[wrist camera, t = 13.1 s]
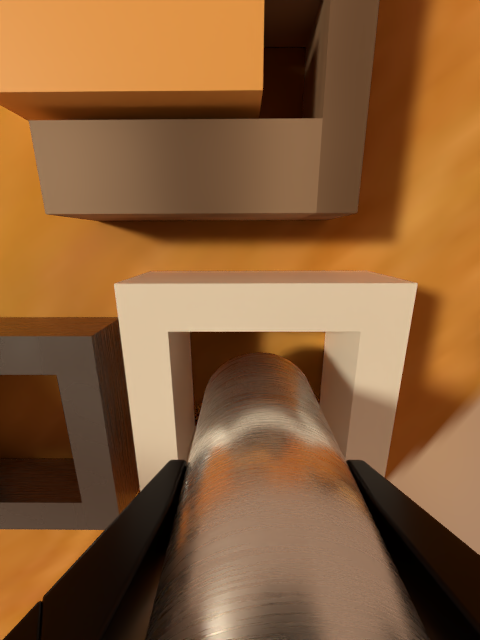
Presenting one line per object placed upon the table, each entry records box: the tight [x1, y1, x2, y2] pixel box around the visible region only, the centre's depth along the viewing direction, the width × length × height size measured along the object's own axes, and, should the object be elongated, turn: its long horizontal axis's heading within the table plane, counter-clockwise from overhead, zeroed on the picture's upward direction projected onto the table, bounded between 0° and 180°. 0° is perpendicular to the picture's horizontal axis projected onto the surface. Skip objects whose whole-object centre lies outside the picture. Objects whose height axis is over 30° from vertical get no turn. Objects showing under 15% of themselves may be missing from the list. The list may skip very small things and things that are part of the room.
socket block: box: [0, 317, 140, 530], centre depth 12 cm, size 9×9×2 cm
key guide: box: [29, 0, 380, 221], centre depth 9 cm, size 9×8×3 cm
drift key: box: [0, 0, 264, 121], centre depth 8 cm, size 7×2×4 cm, turn 90°
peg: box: [145, 352, 430, 640], centre depth 7 cm, size 4×4×8 cm
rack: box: [114, 271, 418, 492], centre depth 11 cm, size 9×9×4 cm
